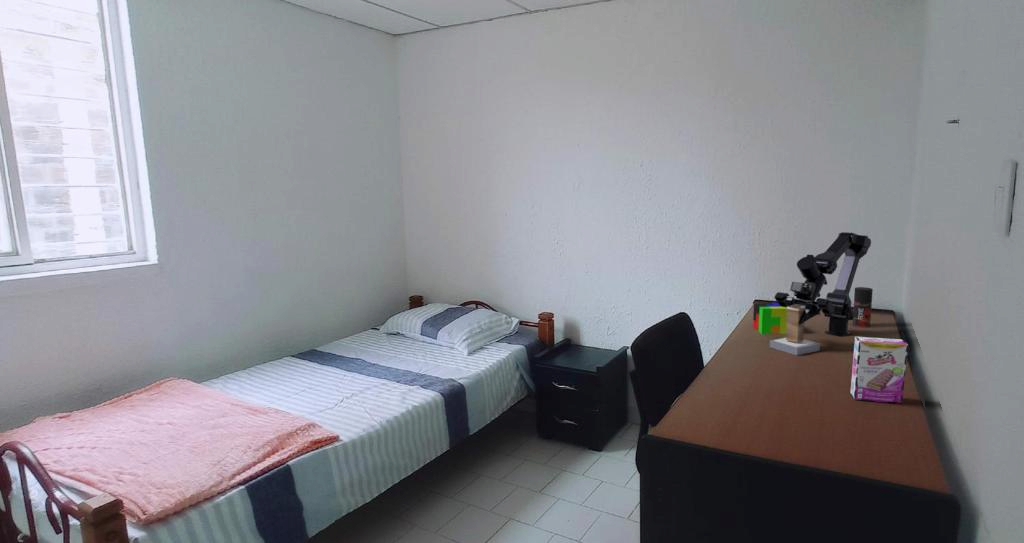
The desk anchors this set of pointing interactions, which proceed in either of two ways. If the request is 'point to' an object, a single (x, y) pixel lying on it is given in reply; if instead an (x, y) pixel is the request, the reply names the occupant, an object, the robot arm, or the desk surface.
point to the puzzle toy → (770, 318)
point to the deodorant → (862, 307)
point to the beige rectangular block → (794, 324)
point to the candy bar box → (878, 369)
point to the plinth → (794, 346)
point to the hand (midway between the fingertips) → (793, 322)
